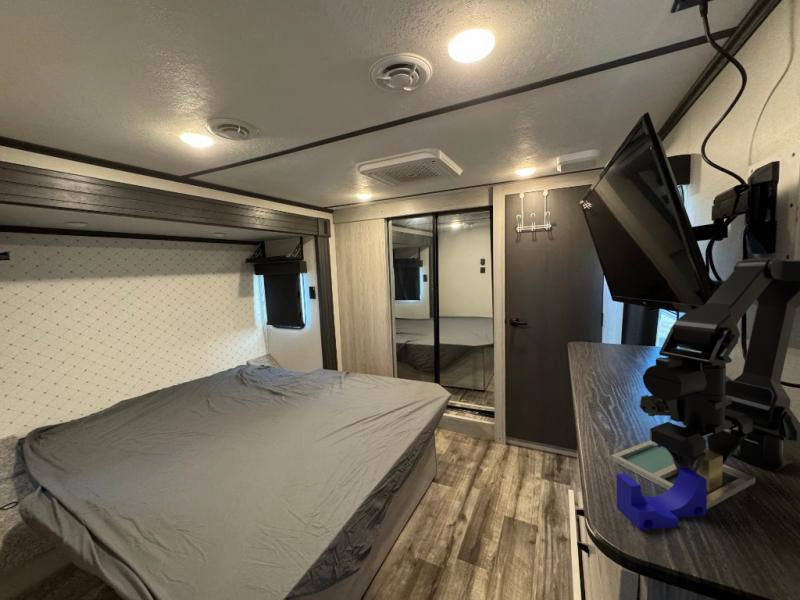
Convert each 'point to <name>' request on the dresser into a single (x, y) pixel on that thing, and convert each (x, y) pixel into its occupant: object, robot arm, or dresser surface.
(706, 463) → the yellow rectangular block
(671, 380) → the robot arm
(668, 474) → the grey divided frame
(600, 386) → the dresser surface
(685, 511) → the cable clip
